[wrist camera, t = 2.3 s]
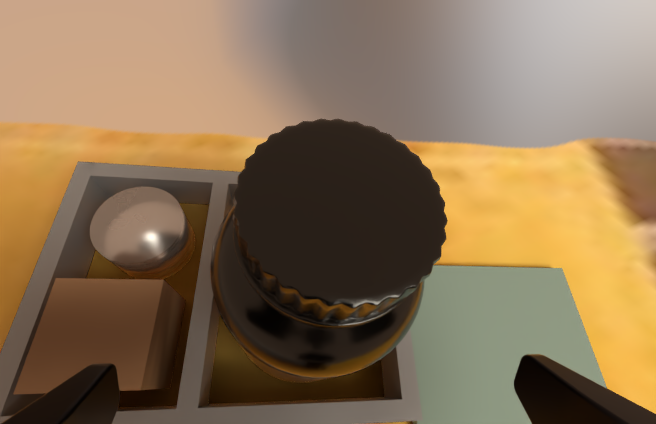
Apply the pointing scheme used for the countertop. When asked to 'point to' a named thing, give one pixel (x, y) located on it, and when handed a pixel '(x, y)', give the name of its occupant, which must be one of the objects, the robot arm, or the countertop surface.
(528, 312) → the rubber mat
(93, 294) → the walnut block
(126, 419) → the parts organiser
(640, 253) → the countertop surface
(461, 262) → the countertop surface
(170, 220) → the silver round piece
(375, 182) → the supplement bottle
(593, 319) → the countertop surface
